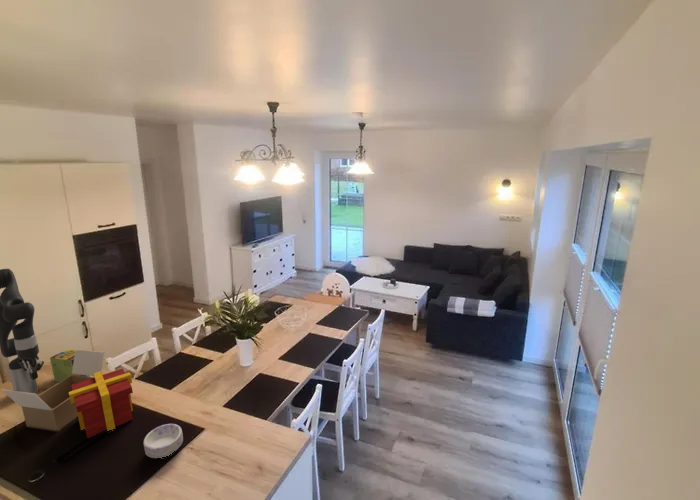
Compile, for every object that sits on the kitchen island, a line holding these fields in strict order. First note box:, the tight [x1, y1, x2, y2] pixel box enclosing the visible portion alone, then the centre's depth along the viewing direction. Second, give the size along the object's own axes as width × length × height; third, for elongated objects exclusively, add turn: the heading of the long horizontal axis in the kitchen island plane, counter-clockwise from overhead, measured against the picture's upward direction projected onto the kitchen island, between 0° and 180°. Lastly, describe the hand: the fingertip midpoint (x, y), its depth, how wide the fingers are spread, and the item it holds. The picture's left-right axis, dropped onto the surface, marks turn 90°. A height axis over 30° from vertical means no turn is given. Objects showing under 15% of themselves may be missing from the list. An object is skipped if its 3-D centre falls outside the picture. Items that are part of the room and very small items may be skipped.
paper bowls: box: [143, 423, 184, 459], centre depth 161 cm, size 15×15×8 cm
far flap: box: [72, 348, 106, 377], centre depth 198 cm, size 18×13×1 cm
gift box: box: [69, 368, 134, 439], centre depth 179 cm, size 25×25×20 cm
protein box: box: [49, 349, 90, 383], centre depth 214 cm, size 10×15×16 cm
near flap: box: [2, 388, 52, 410], centre depth 167 cm, size 18×13×1 cm
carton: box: [21, 375, 94, 433], centre depth 186 cm, size 18×26×12 cm
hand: (34, 378), depth 170 cm, fingers closed
